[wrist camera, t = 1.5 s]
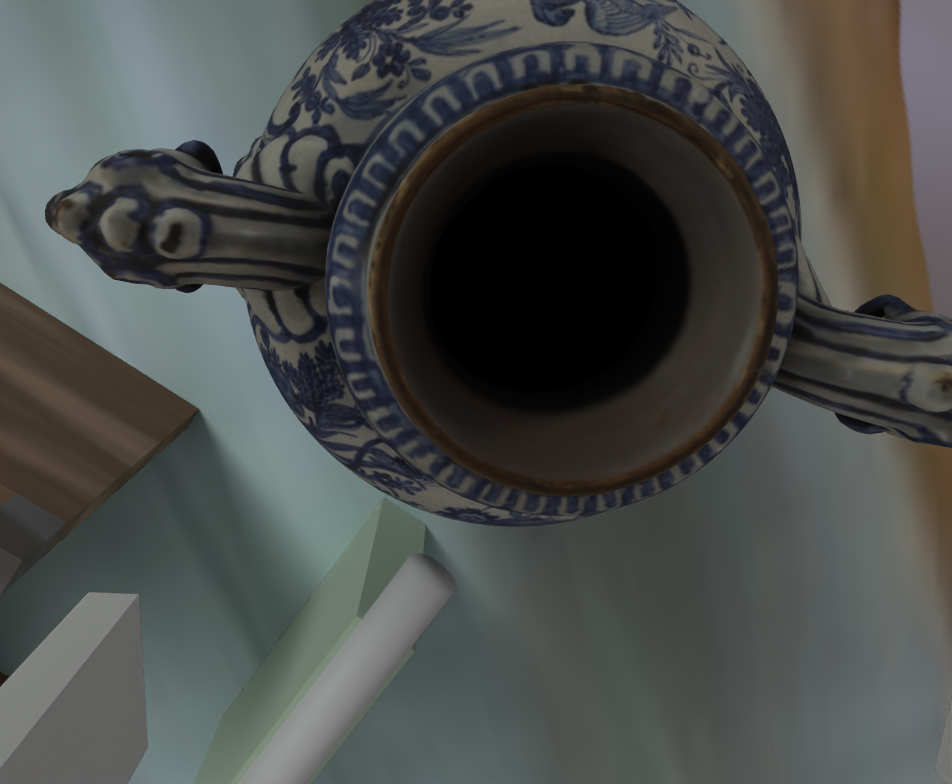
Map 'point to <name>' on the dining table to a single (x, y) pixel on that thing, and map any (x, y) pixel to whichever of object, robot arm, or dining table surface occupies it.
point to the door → (332, 657)
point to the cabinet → (67, 430)
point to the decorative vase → (519, 257)
